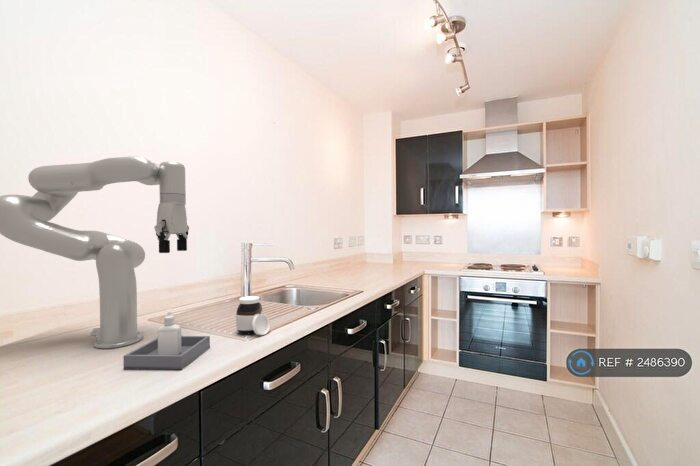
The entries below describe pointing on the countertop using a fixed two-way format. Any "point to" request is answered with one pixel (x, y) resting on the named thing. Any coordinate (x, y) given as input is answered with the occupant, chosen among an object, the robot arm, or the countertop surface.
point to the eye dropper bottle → (169, 337)
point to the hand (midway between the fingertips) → (173, 251)
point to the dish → (150, 359)
